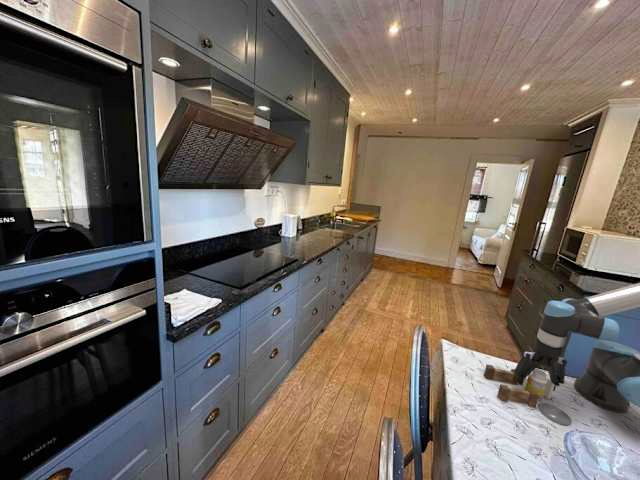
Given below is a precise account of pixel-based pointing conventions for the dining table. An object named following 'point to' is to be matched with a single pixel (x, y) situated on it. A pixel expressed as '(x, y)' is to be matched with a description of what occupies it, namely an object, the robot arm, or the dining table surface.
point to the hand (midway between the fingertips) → (533, 393)
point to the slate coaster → (554, 414)
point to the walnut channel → (507, 392)
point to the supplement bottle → (537, 382)
